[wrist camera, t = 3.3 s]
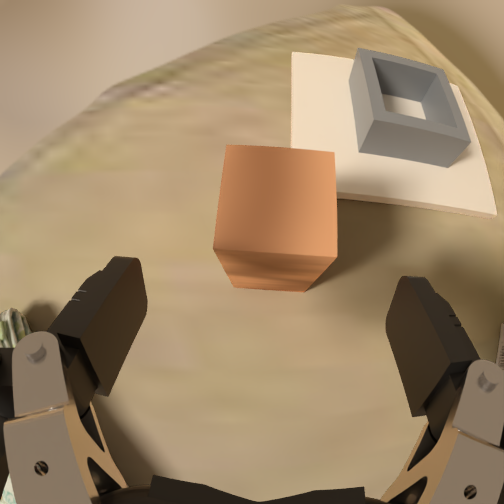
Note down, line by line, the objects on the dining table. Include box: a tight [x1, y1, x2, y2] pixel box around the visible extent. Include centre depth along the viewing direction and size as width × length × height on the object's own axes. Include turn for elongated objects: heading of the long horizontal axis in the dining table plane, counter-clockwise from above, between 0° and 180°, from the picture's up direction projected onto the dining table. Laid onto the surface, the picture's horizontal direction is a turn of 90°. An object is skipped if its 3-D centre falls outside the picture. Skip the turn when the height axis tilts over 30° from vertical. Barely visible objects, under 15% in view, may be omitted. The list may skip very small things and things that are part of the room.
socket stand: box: [291, 48, 497, 219], centre depth 21 cm, size 18×15×5 cm
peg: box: [213, 145, 337, 292], centre depth 16 cm, size 4×4×9 cm
